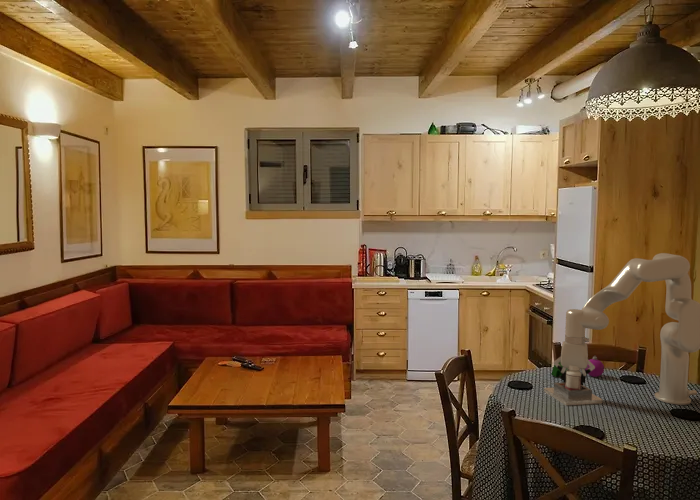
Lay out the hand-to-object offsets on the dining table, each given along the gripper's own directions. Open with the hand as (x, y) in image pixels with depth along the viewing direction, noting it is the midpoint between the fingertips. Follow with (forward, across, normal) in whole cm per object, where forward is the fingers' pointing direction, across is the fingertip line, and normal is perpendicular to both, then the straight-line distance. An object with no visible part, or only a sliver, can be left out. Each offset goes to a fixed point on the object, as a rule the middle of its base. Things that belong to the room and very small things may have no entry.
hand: (573, 382), depth 216 cm
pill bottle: (+4, 0, 0) cm, 4 cm away
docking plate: (+6, 0, 0) cm, 6 cm away
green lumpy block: (+6, +4, -28) cm, 29 cm away
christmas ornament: (+6, -9, -34) cm, 35 cm away
